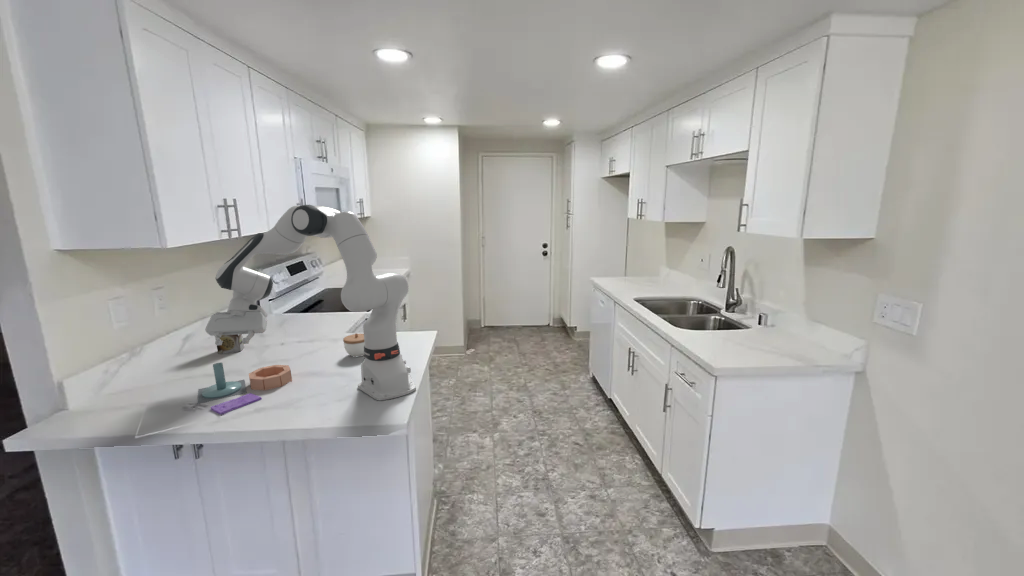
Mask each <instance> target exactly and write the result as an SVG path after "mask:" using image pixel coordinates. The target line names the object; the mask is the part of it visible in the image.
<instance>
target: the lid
mask: <svg viewBox="0 0 1024 576" xmlns="http://www.w3.org/2000/svg"><path fill="white" fill-rule="evenodd" d="M212 368H213V369H212V370H213V373H214V380H215V384H213V385H212V384H211V385H210V386H207V388H206V387H205V388H206V389H204V390H203V391H202V396H203V397H204V398H220V397H224V396H228V395H231V394H233V393H236V392H237V391H239V390H240V389H241V388H242V386H241V383H240V382H235V381H236V380H235V381H234V380H231V381H226V377H225V370H224V365H223V362H215V363H214V364H212Z"/></svg>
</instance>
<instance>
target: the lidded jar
mask: <svg viewBox="0 0 1024 576" xmlns="http://www.w3.org/2000/svg"><path fill="white" fill-rule="evenodd" d="M342 341H343V346H344V349H345V352H346V353H347V354H348V356H349V355H350V357H352V356H354V357H353V358H357V357H356V356H361V357H363V356H362V355H364V346H365V342H364V333H354V334H350V335H347V336H344V338H343V339H342Z"/></svg>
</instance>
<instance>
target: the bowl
mask: <svg viewBox="0 0 1024 576" xmlns="http://www.w3.org/2000/svg"><path fill="white" fill-rule="evenodd" d="M248 378H249V384H250V389H251V390H254V391H255V390H256V391H269V390H272V389H276V388H281V387H283V386H285V385H286V384H288V383H292V382H293V377H292V371H291V368H290V366H289V365H287V364H273V365H268V366H263V367H260V368H257V369H255V370H253V371H251V372H250V373H248Z"/></svg>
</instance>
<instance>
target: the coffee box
mask: <svg viewBox="0 0 1024 576" xmlns="http://www.w3.org/2000/svg"><path fill="white" fill-rule="evenodd" d="M219 338H220V339H221V340H222V341H223V342H222V345H216V351H217V354H218V355H221V354H222V353H223V354H229V353H230V354H231V353H237V352H241V351H242V350H243V349H244V348H245V344H244V343H243V342H242V341H243V338H244V337H243V334H236V335H222V336H221V337H219ZM223 354H222V355H223Z"/></svg>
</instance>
